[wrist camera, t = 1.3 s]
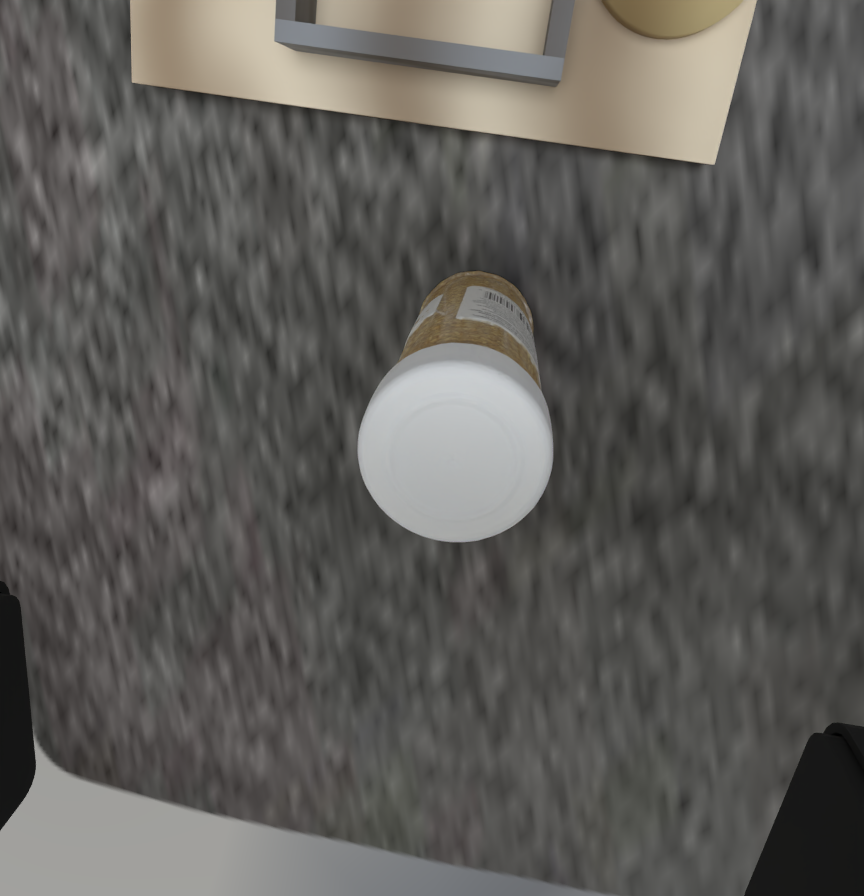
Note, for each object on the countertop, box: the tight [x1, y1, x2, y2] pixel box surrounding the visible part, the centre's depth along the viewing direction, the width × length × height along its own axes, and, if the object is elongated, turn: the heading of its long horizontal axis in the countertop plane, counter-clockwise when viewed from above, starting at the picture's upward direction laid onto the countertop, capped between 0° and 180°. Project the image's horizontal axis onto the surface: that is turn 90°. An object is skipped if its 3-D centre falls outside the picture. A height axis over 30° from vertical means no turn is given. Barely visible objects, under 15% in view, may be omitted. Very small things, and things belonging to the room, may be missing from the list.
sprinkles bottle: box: [357, 271, 553, 542], centre depth 23 cm, size 5×4×13 cm
